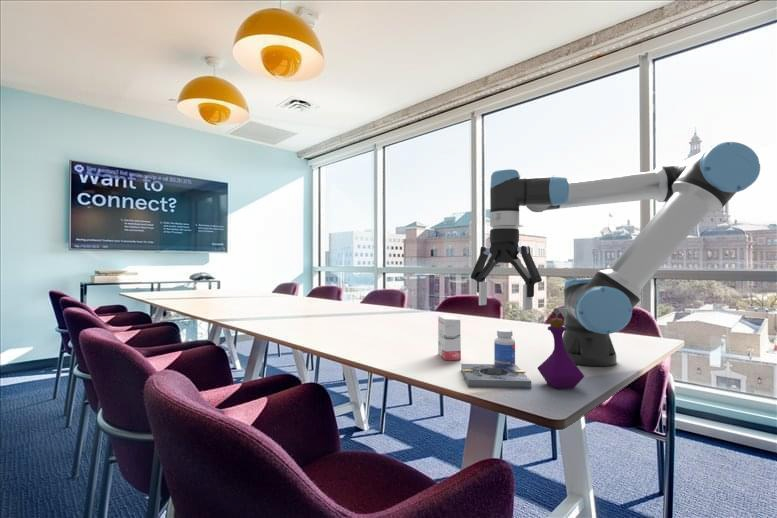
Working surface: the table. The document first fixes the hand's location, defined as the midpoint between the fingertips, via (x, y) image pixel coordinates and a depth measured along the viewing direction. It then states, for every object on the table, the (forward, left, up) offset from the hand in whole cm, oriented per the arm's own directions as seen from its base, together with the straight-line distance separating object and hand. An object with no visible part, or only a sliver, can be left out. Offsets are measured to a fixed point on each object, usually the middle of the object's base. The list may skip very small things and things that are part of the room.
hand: (503, 307), depth 110 cm
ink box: (+14, -10, -16) cm, 23 cm away
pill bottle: (0, 0, -16) cm, 16 cm away
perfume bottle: (-9, +16, -16) cm, 25 cm away
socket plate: (+5, +11, -16) cm, 20 cm away
